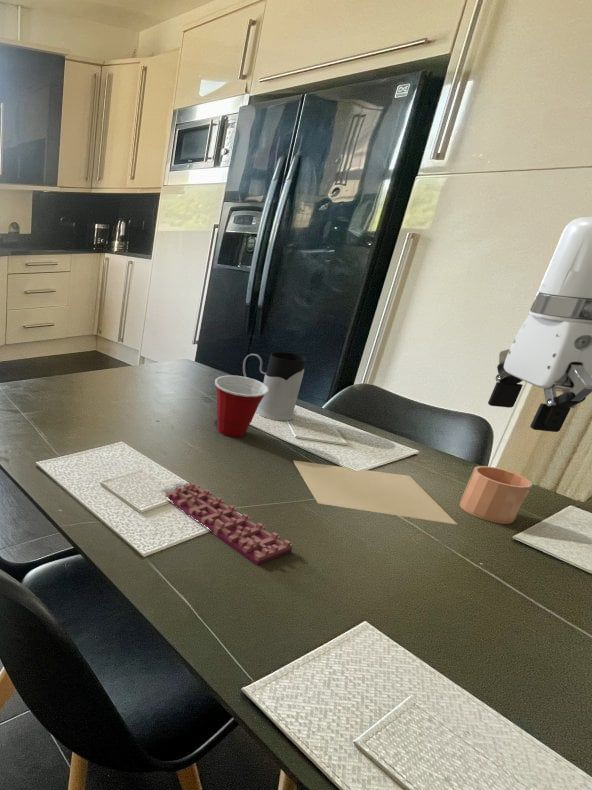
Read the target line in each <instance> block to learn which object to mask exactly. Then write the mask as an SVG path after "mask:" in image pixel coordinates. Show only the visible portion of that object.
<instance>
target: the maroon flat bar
mask: <svg viewBox="0 0 592 790" xmlns="http://www.w3.org/2000/svg"><path fill="white" fill-rule="evenodd" d="M166 497H168V498H169V499H170V500H172V501H173V503H174V505H175V506H177V507H178V508H180V509H181V510H183V511H184V512H186V513H187V514H188V515H190V516H192V517H193V518H194V519H196V520H198V521H199V522H200V523H202V524H203V525H205V526H206V527H208V528H209V529H210V530H211V532H212V533H211V532H210V533H211V534H213V535H215V536H216V537H217V538H218V539H220V540H221V541H223V542H224V543H225V544H227V545H228V546H229V547H231V548H232V549H233V550H235V551H237V552H238V553H239V554H240V555H242V556H243V557H245V558H246V559H247V560H249V561H251V563H253V564H254V565H256V566H259V565H261V564H264V563H266V562H269V561H272V560H274V559H277V558H279V557H282V556H284V555H287V554H290V553H292V550H293V546H294V545H293V544H292V542H291V541H289V540H288V539H285V540H282V539H281V538H282V537H281V536H280V534H279V533H277V532H275V531H274V532H271V533H270V532H269V531H268V530H266V526H264V524H263V523H261V522H257V523H255V522H253V521H252V520H251V519H252V518H251V517H250V516H249V515H248V513H243V514H241V513H239V512H238V509H237V508H236V506H234V505H232V504H229V505H226V503H225V500H223V498H222V497H220V496H218V497H214V496H212V492H211V491H210V490H209V489H207V488H206V489H204V490H203V489H202V488H201V485H200V484H196V483H194V482H189V484H188V483H186V484H184V485H183V488H182V487H180V486H176V487H175V488H174V490H172V491H168V492H166V493H165V498H166ZM174 505H173V506H174ZM175 506H174V507H175ZM177 507H176V508H177ZM178 508H177V509H178ZM180 509H179V510H180ZM181 510H180V511H181ZM184 512H183V513H184ZM188 515H187V516H188Z"/></svg>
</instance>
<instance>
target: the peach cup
mask: <svg viewBox="0 0 592 790" xmlns="http://www.w3.org/2000/svg"><path fill="white" fill-rule="evenodd" d="M467 481H468V482H467V484H466V486H465V489H464V492H463V493H462V496H461V498H460V500H459V503H458V504H459V507H460V508H461V509H462V510H463V511H465V512H466V513H468V514H469V515H470V516H471V515H472V516H474V517H476V518H479V519H480V520H484V521H486V522H491V523H494V524H499V525H500V524H502V525H511V524H513V523H515V520H516V519H517V518H518V515H520V513H521V510H522V507H523V506H524V503H525V501H526V500H527V497H528V495H529V494H530V491H531V489H532V488H533V483H532V481H531V480H530V479H528V478H526V477H525V476H522V475H521V474H518V473H516V472H513V471H510V470H507V469H504V468H498V467H495V466H489V465H488V466H487V465H480V466H479V465H477V466H476V467H474V468H473V470H472V472H471V474H470V477H469V479H468V480H467Z"/></svg>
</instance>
